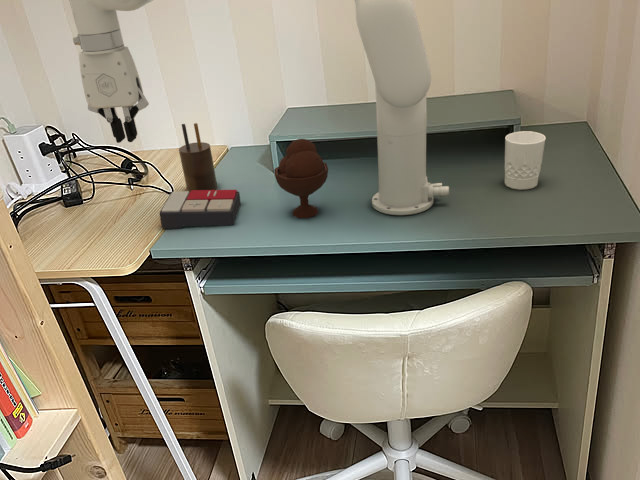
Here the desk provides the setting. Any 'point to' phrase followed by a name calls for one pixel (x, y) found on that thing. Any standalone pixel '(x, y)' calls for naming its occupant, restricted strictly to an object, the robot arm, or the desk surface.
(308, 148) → the ice cream bowl
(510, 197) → the desk surface
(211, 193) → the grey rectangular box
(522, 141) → the white cup
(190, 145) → the pencil cup
